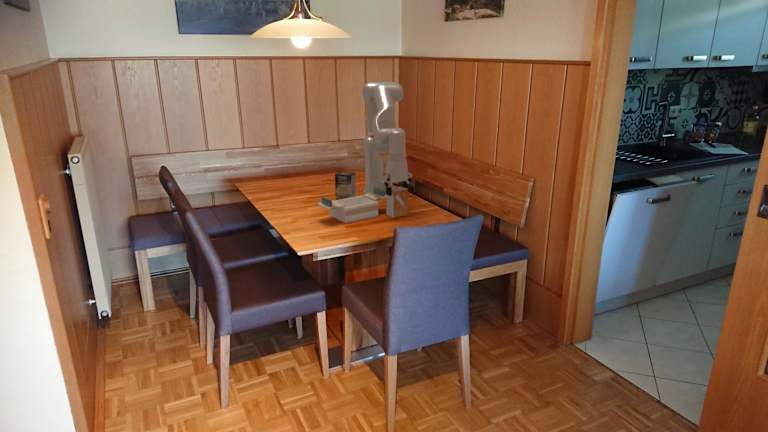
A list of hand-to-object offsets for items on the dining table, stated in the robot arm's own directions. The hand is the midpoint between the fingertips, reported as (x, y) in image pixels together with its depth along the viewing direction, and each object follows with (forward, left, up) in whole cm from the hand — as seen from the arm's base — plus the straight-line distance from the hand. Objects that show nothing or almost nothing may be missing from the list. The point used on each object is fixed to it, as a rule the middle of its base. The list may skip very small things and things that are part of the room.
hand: (397, 193), depth 239 cm
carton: (+17, -12, -11) cm, 23 cm away
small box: (0, -1, -11) cm, 11 cm away
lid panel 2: (+4, -12, -3) cm, 13 cm away
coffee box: (+9, -32, -11) cm, 35 cm away
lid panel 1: (+29, -12, -3) cm, 32 cm away
